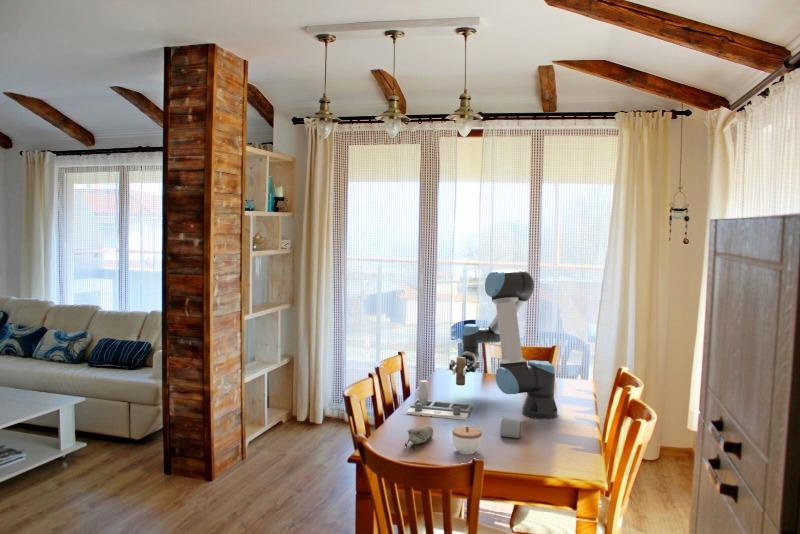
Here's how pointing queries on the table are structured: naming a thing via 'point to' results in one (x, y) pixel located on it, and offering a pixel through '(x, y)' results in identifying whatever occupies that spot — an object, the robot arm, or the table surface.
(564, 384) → the table surface
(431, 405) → the pin board
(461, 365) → the walnut pin
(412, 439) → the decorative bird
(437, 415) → the plaque
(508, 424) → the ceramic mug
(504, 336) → the robot arm
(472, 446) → the lidded jar
